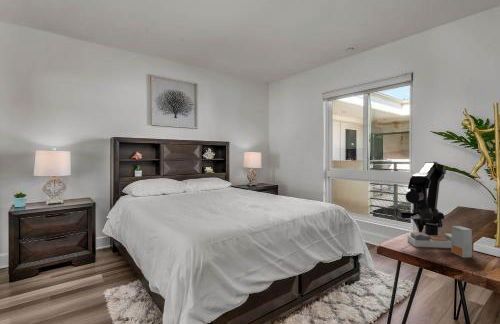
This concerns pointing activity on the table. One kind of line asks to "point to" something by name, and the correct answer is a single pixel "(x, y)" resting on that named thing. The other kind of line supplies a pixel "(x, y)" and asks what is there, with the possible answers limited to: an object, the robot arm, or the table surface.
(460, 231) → the skincare box
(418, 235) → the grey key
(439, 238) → the terracotta key
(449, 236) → the sage key
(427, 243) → the light grey divided tray
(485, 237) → the table surface
